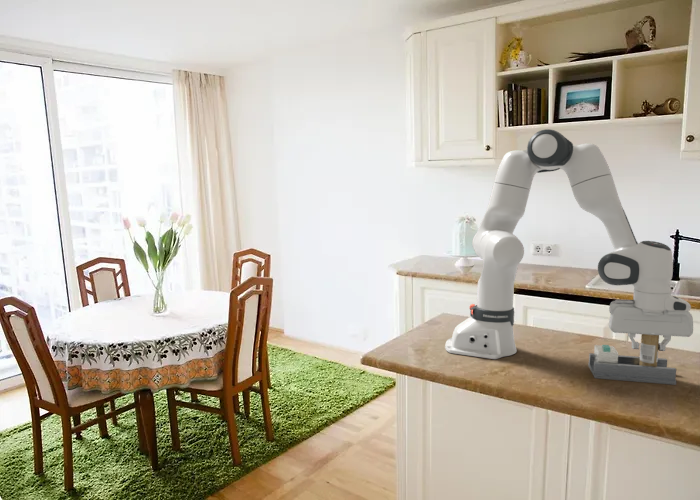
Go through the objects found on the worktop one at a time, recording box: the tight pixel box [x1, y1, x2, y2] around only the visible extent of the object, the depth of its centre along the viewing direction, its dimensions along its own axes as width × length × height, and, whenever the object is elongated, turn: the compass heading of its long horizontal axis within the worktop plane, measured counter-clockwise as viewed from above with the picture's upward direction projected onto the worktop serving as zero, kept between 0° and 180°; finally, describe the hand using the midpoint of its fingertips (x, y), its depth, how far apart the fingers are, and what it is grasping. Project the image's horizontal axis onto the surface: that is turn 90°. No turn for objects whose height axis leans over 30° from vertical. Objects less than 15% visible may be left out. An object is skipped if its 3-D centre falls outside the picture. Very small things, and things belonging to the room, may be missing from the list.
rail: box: [587, 344, 677, 386], centre depth 146 cm, size 20×10×8 cm, turn 75°
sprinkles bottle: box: [639, 333, 660, 367], centre depth 145 cm, size 5×5×13 cm
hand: (648, 349), depth 145 cm, fingers open, 5 cm apart
